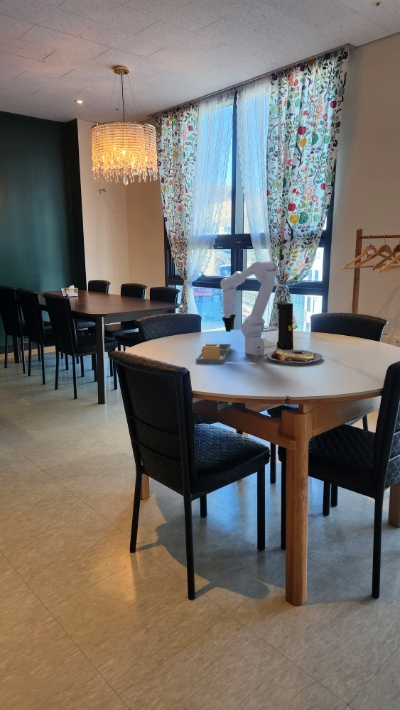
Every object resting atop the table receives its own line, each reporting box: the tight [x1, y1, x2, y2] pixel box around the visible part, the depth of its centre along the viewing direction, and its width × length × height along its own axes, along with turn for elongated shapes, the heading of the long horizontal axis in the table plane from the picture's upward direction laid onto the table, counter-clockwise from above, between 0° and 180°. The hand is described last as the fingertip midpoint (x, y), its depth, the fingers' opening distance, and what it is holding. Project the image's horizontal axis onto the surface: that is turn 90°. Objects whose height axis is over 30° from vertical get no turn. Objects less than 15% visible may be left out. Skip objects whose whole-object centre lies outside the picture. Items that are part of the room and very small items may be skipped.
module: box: [202, 343, 221, 359], centre depth 213 cm, size 5×7×7 cm
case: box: [201, 343, 232, 356], centre depth 228 cm, size 14×12×3 cm
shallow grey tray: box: [195, 351, 228, 365], centre depth 214 cm, size 15×12×2 cm
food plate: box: [264, 348, 324, 365], centre depth 212 cm, size 25×23×4 cm
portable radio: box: [276, 297, 295, 350], centre depth 232 cm, size 8×6×25 cm
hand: (229, 330), depth 236 cm, fingers open, 7 cm apart
